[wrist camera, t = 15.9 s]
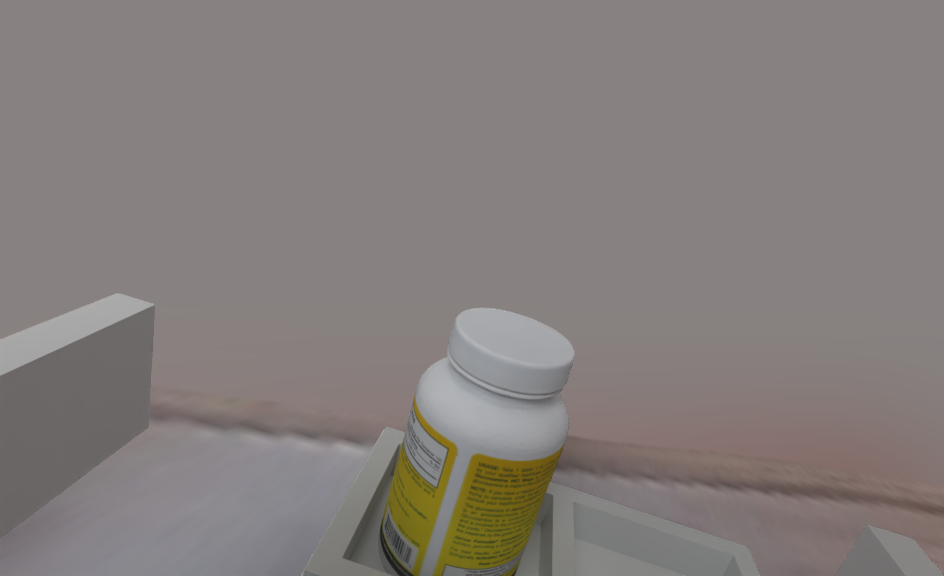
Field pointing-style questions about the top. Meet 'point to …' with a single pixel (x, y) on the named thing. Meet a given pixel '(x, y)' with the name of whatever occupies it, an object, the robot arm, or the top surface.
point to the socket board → (536, 534)
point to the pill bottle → (478, 449)
